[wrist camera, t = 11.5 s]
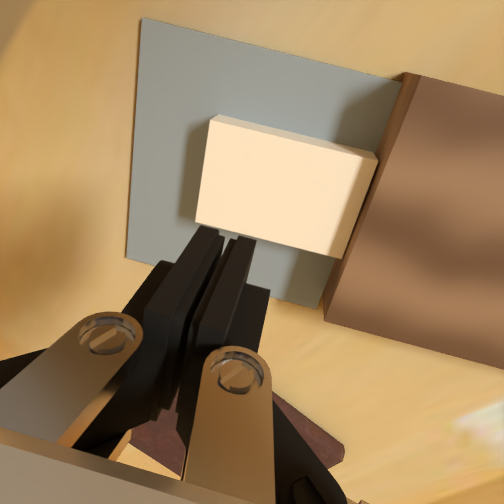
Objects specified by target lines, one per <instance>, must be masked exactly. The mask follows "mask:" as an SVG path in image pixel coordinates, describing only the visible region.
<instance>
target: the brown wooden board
mask: <svg viewBox="0 0 504 504" xmlns="http://www.w3.org/2000/svg"><path fill="white" fill-rule="evenodd" d="M401 82H402V85H401V88H400V90H399V93H398V95H397V98H396V101H395V103H394V106H393V109H392V111H391V114H390V117H389V119H388V122H387V124H386V127H385V130H384V132H383V135H382V138H381V140H380V143H379V146H378V148H377V151H376V154H375V156H376V158H377V160H378V163H377V166H376V169H375V171H374V174H373V177H372V179H371V182H370V185H369V187H368V190H367V193H366V195H365V198H364V201H363V203H362V206H361V209H360V211H359V214H358V217H357V219H356V222H355V225H354V227H353V230H352V233H351V235H350V238H349V241H348V243H347V246H346V249H345V251H344V254H343V257H342V259H339V258H336V259H335V262H334V264H333V267H332V270H331V272H330V275H329V278H328V280H327V283H326V286H325V288H324V291H323V308H324V321H326V322H329V323H333V324H337V325H341V326H344V327H348V328H352V329H355V330H359V331H363V332H366V333H370V334H374V335H378V336H381V337H385V338H389V339H392V340H396V341H400V342H404V343H407V344H411V345H415V346H418V347H422V348H426V349H430V350H433V351H437V352H441V353H444V354H448V355H452V356H456V357H459V358H463V359H467V360H470V361H474V362H478V363H482V364H485V365H489V366H493V367H496V368H500V369H504V96H501V95H497V94H493V93H489V92H485V91H481V90H477V89H473V88H469V87H465V86H461V85H457V84H453V83H449V82H445V81H441V80H437V79H433V78H429V77H425V76H421V75H417V74H412V73H408V72H405V73H404V76H403V79H402V81H401Z"/></svg>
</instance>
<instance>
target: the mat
mask: <svg viewBox="0 0 504 504" xmlns="http://www.w3.org/2000/svg"><path fill="white" fill-rule="evenodd" d="M401 85H402V82H398V81H394V80H390V79H386V78H382V77H378V76H374V75H370V74H366V73H362V72H358V71H354V70H350V69H346V68H342V67H338V66H334V65H330V64H326V63H322V62H318V61H314V60H310V59H307V58H303V57H299V56H295V55H291V54H287V53H283V52H279V51H275V50H271V49H267V48H263V47H259V46H255V45H251V44H247V43H243V42H239V41H235V40H231V39H227V38H223V37H219V36H215V35H211V34H207V33H203V32H199V31H195V30H191V29H187V28H183V27H179V26H175V25H171V24H167V23H163V22H159V21H155V20H151V19H147V18H143V17H142V23H141V39H140V54H139V70H138V85H137V101H136V116H135V132H134V148H133V163H132V179H131V194H130V210H129V225H128V241H127V256H126V258H128V259H132V260H135V261H139V262H143V263H147V264H150V265H154V266H156V265H157V263H158V262H159V261H160V260H165V261H168V262H172V263H175V262H176V261H177V259H178V258H179V256H180V255H181V253H182V252H183V250H184V249H185V247H186V246H187V244H188V243H189V241H190V240H191V238H192V237H193V235H194V234H195V232H196V231H197V229H198V228H199V226H200V225H203V226H207V227H211V228H214V229H218V230H219V235H221V236H225V241H224V246H223V251H222V254H223V252H224V250H225V248H226V246H227V244H228V242H229V240H230V238H232V239H236V240H237V238H238V236H239V235H240V236H244V237H247V238H251V239H255V240H257V242H256V246H255V250H254V254H253V258H252V262H251V266H250V270H249V274H248V278H247V282H246V283H248V284H252V285H255V286H259V287H263V288H266V289H270V290H271V291H270V296H269V297H273V298H277V299H280V300H284V301H288V302H292V303H295V304H299V305H303V306H307V307H310V308H314V309H317V307H318V304H319V301H320V299H321V296H322V293H323V291H324V288H325V286H326V283H327V280H328V278H329V275H330V272H331V270H332V267H333V264H334V262H335V259H336V258H335V257H331V256H327V255H323V254H319V253H315V252H311V251H308V250H304V249H300V248H296V247H292V246H288V245H284V244H280V243H276V242H272V241H268V240H264V239H260V238H256V237H253V236H249V235H245V234H241V233H237V232H233V231H229V230H225V229H221V228H217V227H213V226H209V225H205V224H201V223H197V222H195V219H196V212H197V206H198V199H199V192H200V185H201V178H202V171H203V165H204V158H205V151H206V144H207V137H208V131H209V124H210V119H212V118H214V117H215V116H217V115H218V114H219V115H223V116H227V117H232V118H236V119H240V120H244V121H248V122H252V123H256V124H260V125H264V126H268V127H272V128H276V129H281V130H285V131H289V132H293V133H297V134H301V135H305V136H309V137H313V138H317V139H321V140H326V141H330V142H334V143H338V144H342V145H346V146H350V147H354V148H358V149H362V150H366V151H370V152H373V153H374V154H376V151H377V148H378V146H379V143H380V140H381V138H382V135H383V132H384V130H385V127H386V124H387V122H388V119H389V117H390V114H391V111H392V109H393V106H394V103H395V101H396V98H397V95H398V93H399V90H400V88H401Z"/></svg>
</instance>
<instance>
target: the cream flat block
mask: <svg viewBox="0 0 504 504" xmlns="http://www.w3.org/2000/svg"><path fill="white" fill-rule="evenodd" d="M377 163H378V160H377V158H376V156H375V154H374V153H373V152H370V151H366V150H362V149H358V148H354V147H350V146H346V145H342V144H338V143H334V142H330V141H326V140H321V139H317V138H313V137H309V136H305V135H301V134H297V133H293V132H289V131H285V130H281V129H276V128H272V127H268V126H264V125H260V124H256V123H252V122H248V121H244V120H240V119H236V118H232V117H227V116H223V115H219V114H218V115H217V116H215V117H214V118H212V119H210V124H209V131H208V137H207V144H206V151H205V158H204V165H203V171H202V178H201V185H200V192H199V199H198V206H197V212H196V219H195V222H197V223H201V224H205V225H209V226H213V227H217V228H221V229H225V230H229V231H233V232H237V233H241V234H245V235H249V236H253V237H256V238H260V239H264V240H268V241H272V242H276V243H280V244H284V245H288V246H292V247H296V248H300V249H304V250H308V251H311V252H315V253H319V254H323V255H327V256H331V257H335V258H339V259H342V257H343V254H344V251H345V249H346V246H347V243H348V241H349V238H350V235H351V233H352V230H353V227H354V225H355V222H356V219H357V217H358V214H359V211H360V209H361V206H362V203H363V201H364V198H365V195H366V193H367V190H368V187H369V185H370V182H371V179H372V177H373V174H374V171H375V169H376V166H377Z"/></svg>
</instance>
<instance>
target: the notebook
mask: <svg viewBox="0 0 504 504" xmlns="http://www.w3.org/2000/svg"><path fill="white" fill-rule="evenodd" d="M178 392H179V389H178V391H177V394H176V396H175V399H174V401H173V403H172V406H171V408H170V410H169V411H168V410H165V409H162V410H161V412H160V415H159V417H158V419H157V421H156V422H155V421H152V420H150V421H149V422H146V423H144V424H142V425H139V426H137V427H135V430H134V433H133V435H132V437H131V439H130V441H129V442H128V443H130V444H131V445H133V446H134V447H136V448H137V449H139V450H140V451H142V452H143V453H145V454H146V455H148V456H150V457H151V458H153V459H154V460H156V461H157V462H159V463H160V464H162V465H163V466H165V467H166V468H168V469H170V470H171V471H173V472H174V473H176V474H177V475H179V476H180V477H181V473H182V468H183V462H184V456H185V451H186V447H185V446H184V444H183V442H182V440H181V438H180V436H179V434H178V432H177V431H176V424H177V419H178V413H175V410H176V404H177V398H178ZM272 399H273V400H274V401H275V403H276V404H277V405H278V407H279V408H280V409H281V410H282V412H283V413H284V414H285V416H286V417H287V418H288V419H289V421H290V422H291V423H292V425H293V426H294V427H295V429H296V430H297V431H298V432H299V434H300V435H301V436H302V438H303V439H304V440H305V441H306V443H307V444H308V445H309V447H310V448H311V449H312V450H313V452H314V453H315V454H316V456H317V457H318V458H319V459H320V461H321V462H322V463H323V465H324V466H325V467H326V468H327V469H329V468H331V467H333V466H334V465H336V464H338V463H340V462H342V461H343V458H344V454H345V449H344V445H343V444H341V443H340V442H339V441H337V440H336V439H335V438H333V437H332V436H331V435H330V434H328V433H327V432H326V431H324V430H323V429H322V428H320V427H319V426H318V425H316V424H315V423H314V422H312V421H311V420H310V419H308V418H307V417H306V416H304V415H303V414H302V413H300V412H299V411H298V410H297V409H295V408H294V407H293V406H291V405H290V404H289V403H287V402H286V401H285V400H283V399H282V398H281V397H279V396H278V395H277V394H275V393H274V392H273V391H272Z"/></svg>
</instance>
